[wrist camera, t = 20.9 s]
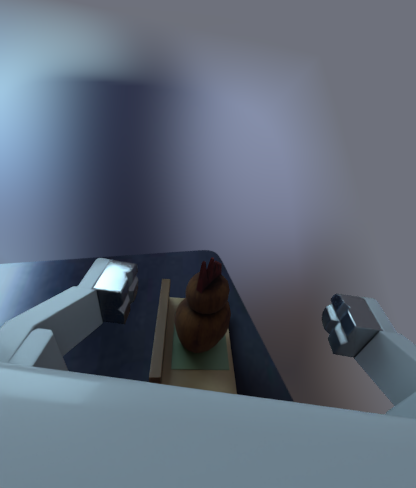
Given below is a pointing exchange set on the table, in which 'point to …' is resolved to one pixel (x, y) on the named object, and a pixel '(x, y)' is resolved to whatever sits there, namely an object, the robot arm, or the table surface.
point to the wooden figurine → (204, 310)
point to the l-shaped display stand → (187, 355)
